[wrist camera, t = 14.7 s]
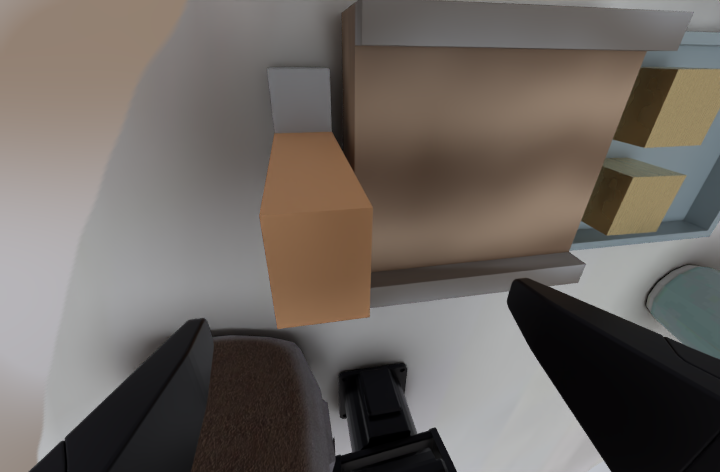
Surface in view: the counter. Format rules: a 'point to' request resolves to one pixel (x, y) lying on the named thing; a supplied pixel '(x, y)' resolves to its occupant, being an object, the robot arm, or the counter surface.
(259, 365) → the dark brown rounded block
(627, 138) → the brass block
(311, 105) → the brown and grey block
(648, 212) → the brass block
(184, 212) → the counter surface
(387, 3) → the railed tan board
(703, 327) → the disposable coffee cup
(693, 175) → the slate tray
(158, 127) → the counter surface
